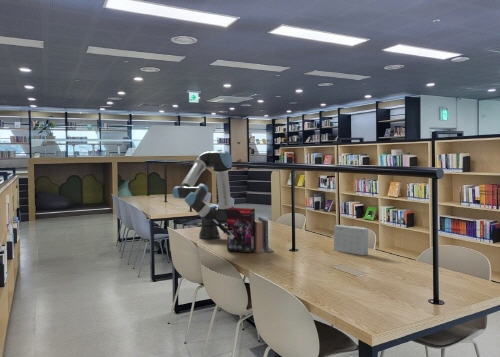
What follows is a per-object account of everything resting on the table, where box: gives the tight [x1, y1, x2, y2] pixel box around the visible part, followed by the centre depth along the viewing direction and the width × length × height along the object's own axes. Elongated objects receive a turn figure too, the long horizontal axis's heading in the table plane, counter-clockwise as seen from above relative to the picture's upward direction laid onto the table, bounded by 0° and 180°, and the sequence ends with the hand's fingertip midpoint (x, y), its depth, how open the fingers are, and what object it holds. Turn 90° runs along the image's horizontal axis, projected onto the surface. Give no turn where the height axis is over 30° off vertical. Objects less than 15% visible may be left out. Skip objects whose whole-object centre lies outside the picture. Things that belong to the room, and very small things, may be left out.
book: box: [254, 218, 263, 254], centre depth 253 cm, size 13×4×19 cm, turn 16°
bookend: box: [257, 216, 275, 253], centre depth 255 cm, size 16×5×20 cm, turn 16°
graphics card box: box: [226, 207, 256, 253], centre depth 251 cm, size 17×7×27 cm, turn 68°
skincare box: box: [333, 224, 369, 256], centre depth 244 cm, size 21×6×16 cm, turn 47°
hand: (233, 237), depth 249 cm, fingers closed
